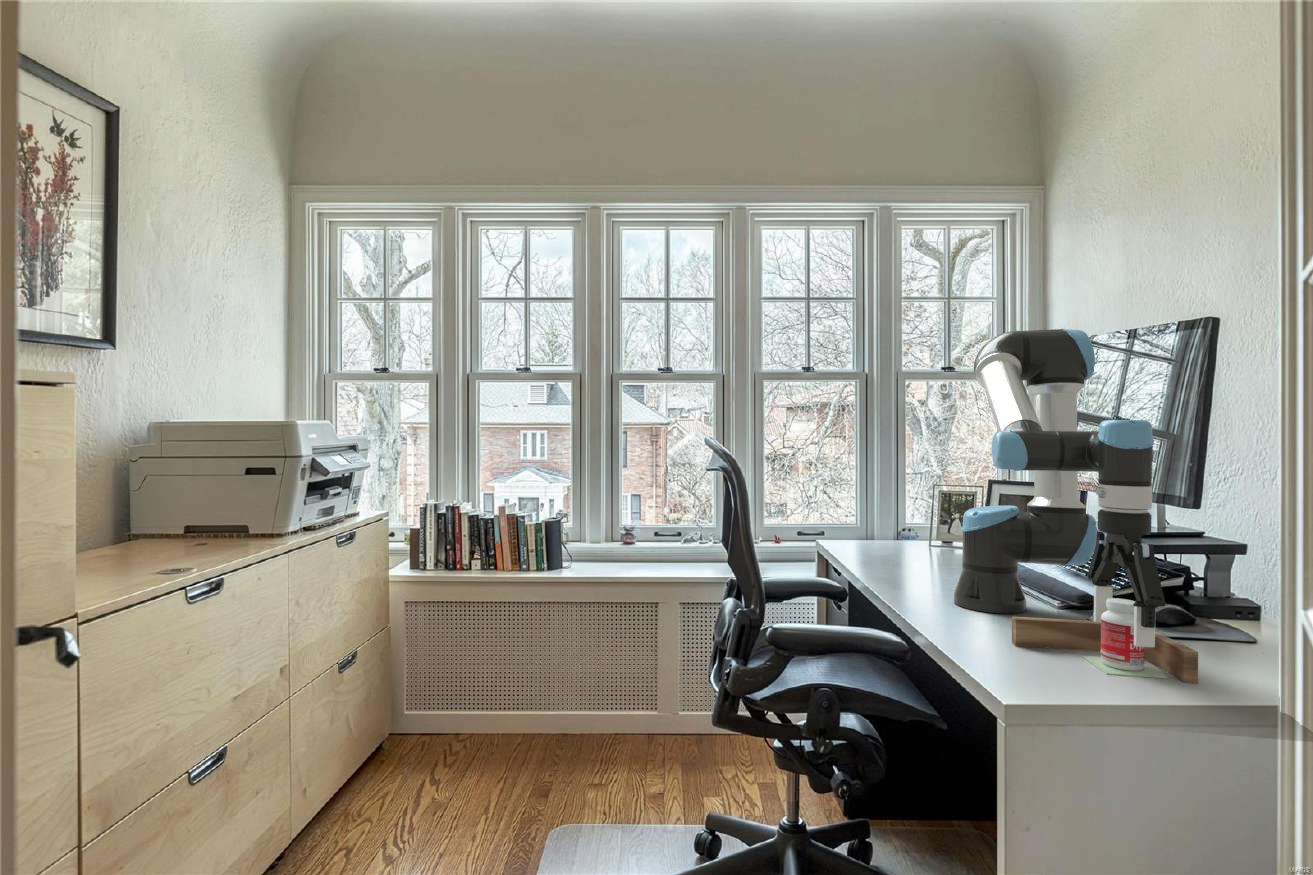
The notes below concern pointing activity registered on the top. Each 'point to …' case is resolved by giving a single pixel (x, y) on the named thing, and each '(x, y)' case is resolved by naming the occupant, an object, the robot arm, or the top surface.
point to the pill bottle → (1120, 636)
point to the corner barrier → (1088, 637)
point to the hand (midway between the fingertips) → (1122, 633)
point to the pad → (1145, 672)
